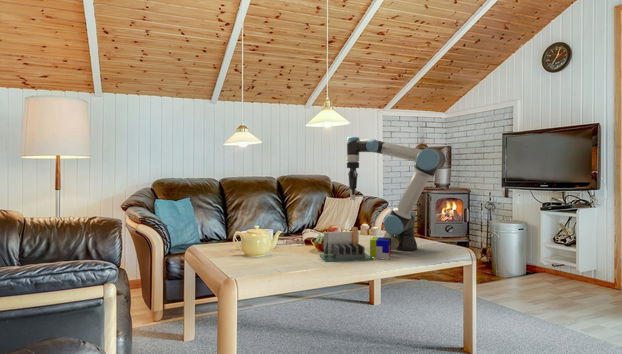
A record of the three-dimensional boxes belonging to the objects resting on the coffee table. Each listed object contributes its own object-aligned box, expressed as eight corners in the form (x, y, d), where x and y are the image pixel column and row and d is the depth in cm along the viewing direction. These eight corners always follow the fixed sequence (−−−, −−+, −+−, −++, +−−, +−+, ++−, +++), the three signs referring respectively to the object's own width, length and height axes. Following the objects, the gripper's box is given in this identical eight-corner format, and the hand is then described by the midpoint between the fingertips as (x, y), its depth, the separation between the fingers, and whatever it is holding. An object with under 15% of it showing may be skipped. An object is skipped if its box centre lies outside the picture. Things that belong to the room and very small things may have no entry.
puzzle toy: (388, 259, 225) (388, 240, 224) (370, 257, 228) (370, 239, 228) (390, 255, 234) (391, 237, 234) (373, 254, 237) (373, 236, 237)
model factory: (364, 254, 237) (364, 226, 237) (372, 259, 222) (373, 230, 222) (319, 255, 233) (319, 227, 232) (325, 261, 218) (325, 231, 217)
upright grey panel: (357, 252, 235) (357, 231, 235) (358, 253, 232) (358, 231, 232) (323, 253, 232) (323, 232, 231) (324, 254, 229) (324, 232, 229)
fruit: (401, 248, 246) (396, 228, 248) (399, 248, 237) (394, 227, 240) (385, 252, 248) (379, 232, 251) (382, 252, 239) (377, 231, 242)
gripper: (344, 161, 263) (344, 199, 263) (349, 161, 250) (349, 200, 250) (355, 162, 264) (355, 199, 264) (361, 161, 251) (361, 200, 252)
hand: (352, 199), depth 257 cm, fingers closed
